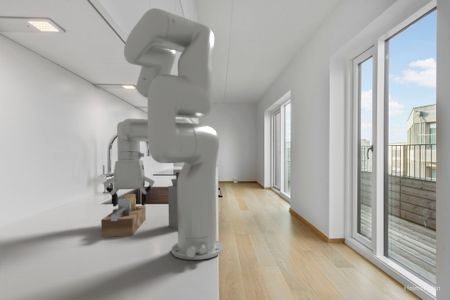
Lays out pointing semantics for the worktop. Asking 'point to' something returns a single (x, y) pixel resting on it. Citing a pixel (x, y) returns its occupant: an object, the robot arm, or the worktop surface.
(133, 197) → the peg
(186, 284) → the worktop surface
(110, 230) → the socket block
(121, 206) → the lock pin
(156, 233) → the worktop surface
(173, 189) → the perfume bottle
